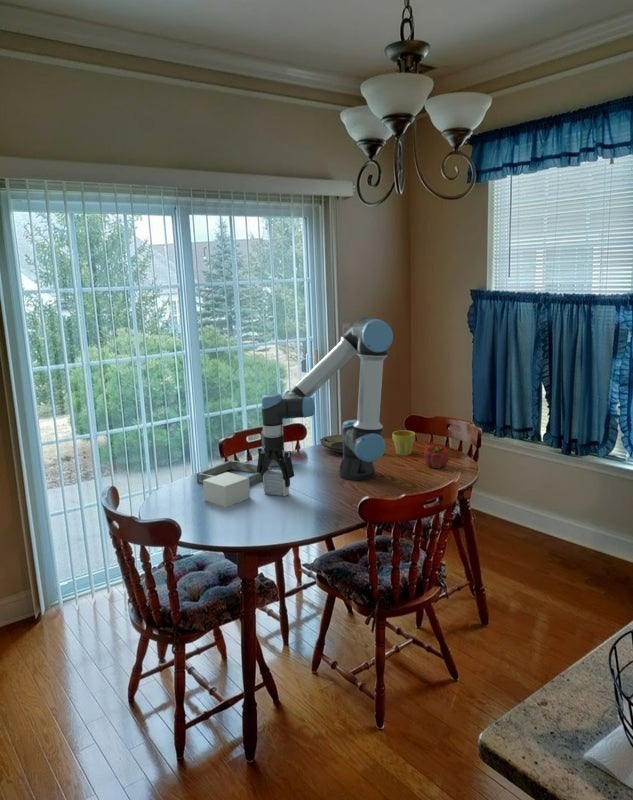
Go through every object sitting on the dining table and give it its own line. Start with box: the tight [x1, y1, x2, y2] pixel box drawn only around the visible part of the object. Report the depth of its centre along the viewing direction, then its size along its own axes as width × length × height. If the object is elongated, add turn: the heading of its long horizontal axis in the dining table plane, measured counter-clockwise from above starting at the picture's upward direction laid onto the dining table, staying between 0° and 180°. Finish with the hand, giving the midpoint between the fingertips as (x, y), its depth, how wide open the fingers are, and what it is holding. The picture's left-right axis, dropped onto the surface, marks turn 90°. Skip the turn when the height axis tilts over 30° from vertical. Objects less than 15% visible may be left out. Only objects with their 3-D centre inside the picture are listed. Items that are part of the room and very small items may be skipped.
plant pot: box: [391, 429, 416, 456], centre depth 277 cm, size 10×10×10 cm
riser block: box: [202, 471, 251, 508], centre depth 225 cm, size 12×12×8 cm
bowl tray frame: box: [196, 459, 273, 487], centre depth 249 cm, size 22×21×4 cm
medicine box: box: [264, 469, 284, 497], centre depth 229 cm, size 8×4×9 cm, turn 71°
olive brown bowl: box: [319, 434, 343, 454], centre depth 283 cm, size 22×30×8 cm
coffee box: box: [260, 428, 285, 467], centre depth 267 cm, size 9×6×16 cm
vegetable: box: [423, 444, 450, 469], centre depth 255 cm, size 11×10×10 cm
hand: (276, 492), depth 230 cm, fingers closed on medicine box, 8 cm apart
